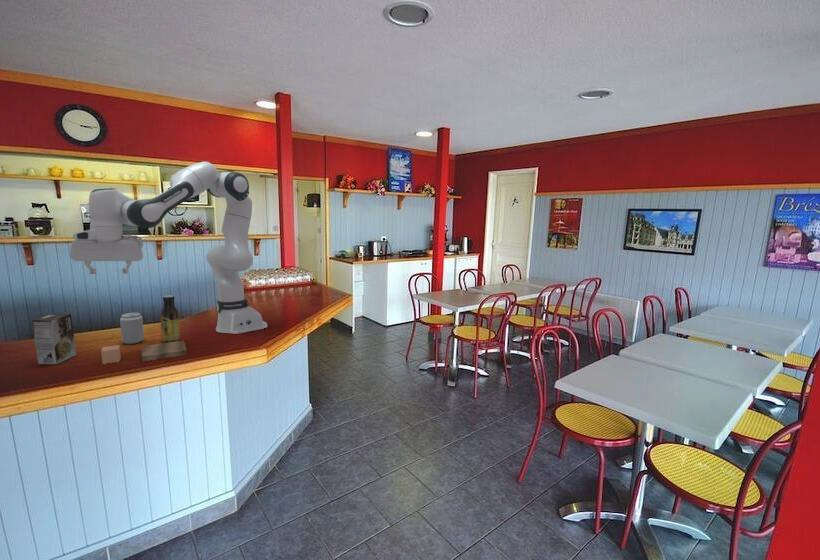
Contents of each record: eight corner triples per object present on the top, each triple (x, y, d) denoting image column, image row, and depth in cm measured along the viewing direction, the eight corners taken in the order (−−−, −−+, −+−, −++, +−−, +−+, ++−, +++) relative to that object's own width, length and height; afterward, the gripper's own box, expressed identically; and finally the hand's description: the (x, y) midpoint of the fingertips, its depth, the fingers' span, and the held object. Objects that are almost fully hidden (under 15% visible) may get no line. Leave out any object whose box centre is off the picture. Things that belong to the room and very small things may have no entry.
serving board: (184, 345, 156) (183, 340, 155) (187, 354, 145) (186, 349, 145) (142, 351, 148) (141, 346, 147) (142, 361, 137) (141, 356, 137)
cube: (120, 357, 141) (119, 344, 140) (120, 362, 137) (119, 348, 136) (103, 360, 138) (102, 347, 137) (102, 364, 134) (101, 351, 133)
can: (132, 345, 153) (130, 316, 151) (117, 344, 155) (114, 315, 153) (148, 340, 161) (146, 312, 159) (134, 338, 162) (131, 311, 160)
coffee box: (58, 355, 141) (53, 313, 139) (77, 355, 142) (72, 313, 139) (37, 364, 132) (30, 319, 130) (56, 364, 133) (51, 319, 130)
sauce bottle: (160, 342, 158) (156, 295, 155) (177, 339, 163) (174, 293, 160) (165, 346, 154) (161, 298, 151) (182, 342, 159) (179, 296, 155)
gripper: (144, 235, 141) (145, 272, 143) (73, 233, 132) (76, 272, 134) (140, 236, 136) (142, 274, 137) (66, 234, 127) (69, 275, 129)
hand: (109, 273), depth 136 cm, fingers open, 8 cm apart
